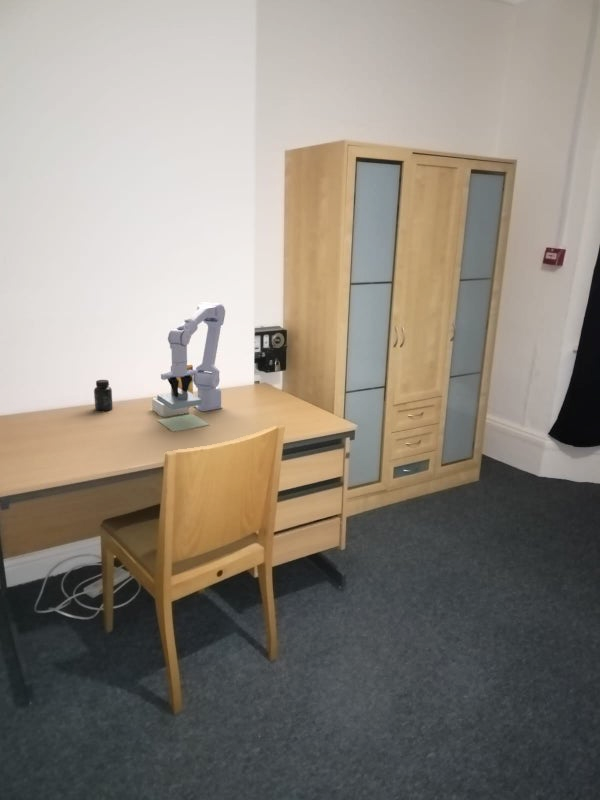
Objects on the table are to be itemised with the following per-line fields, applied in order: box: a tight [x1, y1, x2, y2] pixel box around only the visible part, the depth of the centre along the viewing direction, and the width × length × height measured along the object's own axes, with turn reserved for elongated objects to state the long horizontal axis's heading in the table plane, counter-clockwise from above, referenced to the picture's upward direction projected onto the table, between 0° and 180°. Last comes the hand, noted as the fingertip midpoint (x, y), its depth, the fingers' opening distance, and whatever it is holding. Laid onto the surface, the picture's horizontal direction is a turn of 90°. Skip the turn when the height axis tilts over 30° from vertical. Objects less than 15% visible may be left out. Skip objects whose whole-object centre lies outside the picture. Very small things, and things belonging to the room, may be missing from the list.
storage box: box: [151, 397, 190, 418], centre depth 233 cm, size 11×11×5 cm
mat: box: [156, 413, 210, 433], centre depth 221 cm, size 15×15×1 cm
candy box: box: [170, 363, 194, 395], centre depth 250 cm, size 9×4×15 cm, turn 129°
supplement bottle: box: [93, 379, 114, 412], centre depth 232 cm, size 7×7×12 cm
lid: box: [157, 387, 202, 410], centre depth 220 cm, size 12×12×5 cm
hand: (180, 395), depth 220 cm, fingers closed on lid, 3 cm apart
